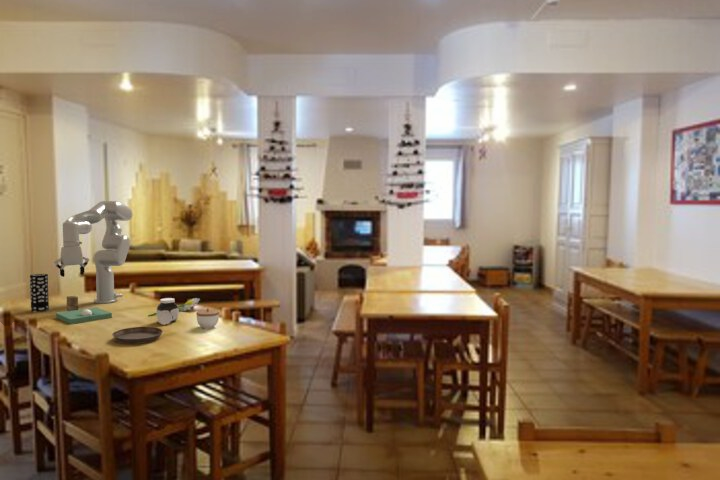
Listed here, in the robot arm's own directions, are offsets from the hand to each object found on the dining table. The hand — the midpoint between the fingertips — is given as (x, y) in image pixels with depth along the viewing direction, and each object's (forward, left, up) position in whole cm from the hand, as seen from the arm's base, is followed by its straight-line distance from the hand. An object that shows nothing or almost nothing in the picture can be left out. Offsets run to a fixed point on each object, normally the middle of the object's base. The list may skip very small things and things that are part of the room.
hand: (72, 275), depth 268 cm
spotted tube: (+11, -18, -21) cm, 30 cm away
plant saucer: (0, +76, -21) cm, 79 cm away
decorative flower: (-39, +38, -21) cm, 58 cm away
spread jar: (-24, +57, -21) cm, 65 cm away
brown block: (+1, +1, -21) cm, 21 cm away
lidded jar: (-33, +80, -21) cm, 89 cm away
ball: (+1, +22, -18) cm, 28 cm away
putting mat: (+1, +17, -21) cm, 27 cm away
